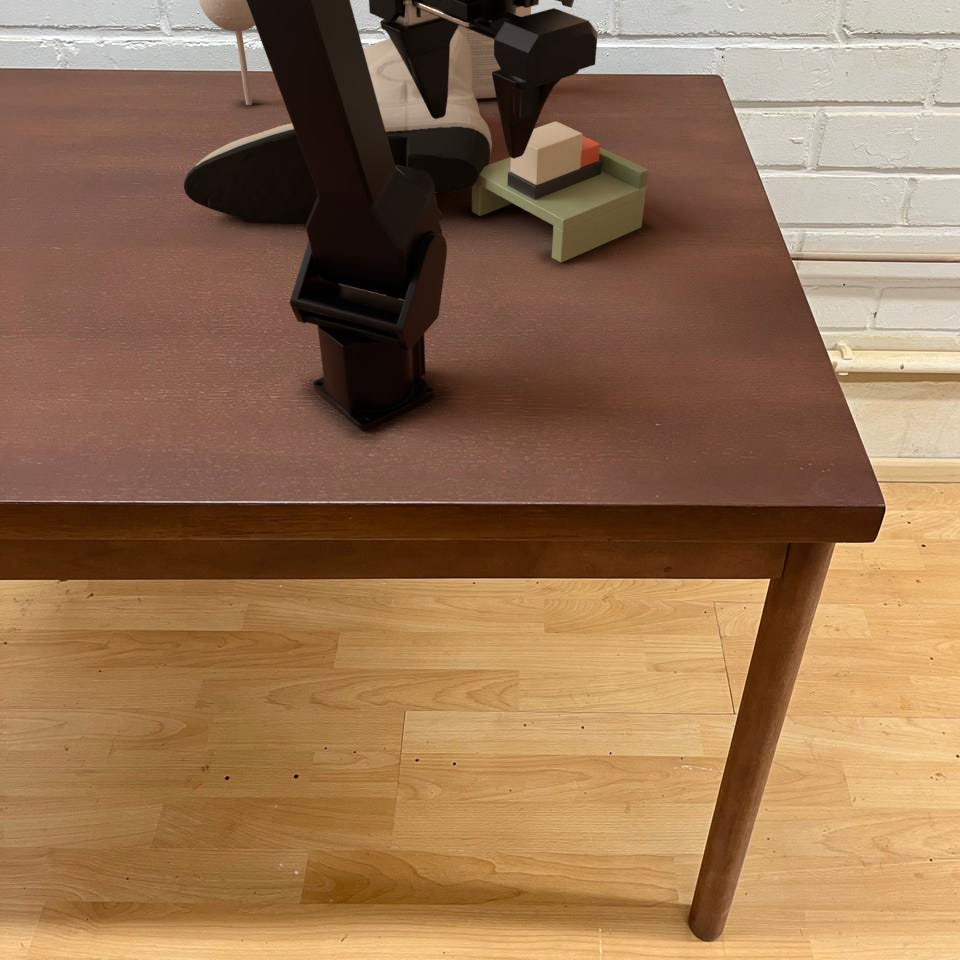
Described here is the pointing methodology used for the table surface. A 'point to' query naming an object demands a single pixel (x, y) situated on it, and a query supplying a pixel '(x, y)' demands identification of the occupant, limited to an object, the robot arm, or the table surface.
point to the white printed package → (484, 59)
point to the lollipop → (232, 28)
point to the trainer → (554, 161)
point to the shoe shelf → (574, 204)
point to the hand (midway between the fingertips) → (476, 136)
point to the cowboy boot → (409, 128)
